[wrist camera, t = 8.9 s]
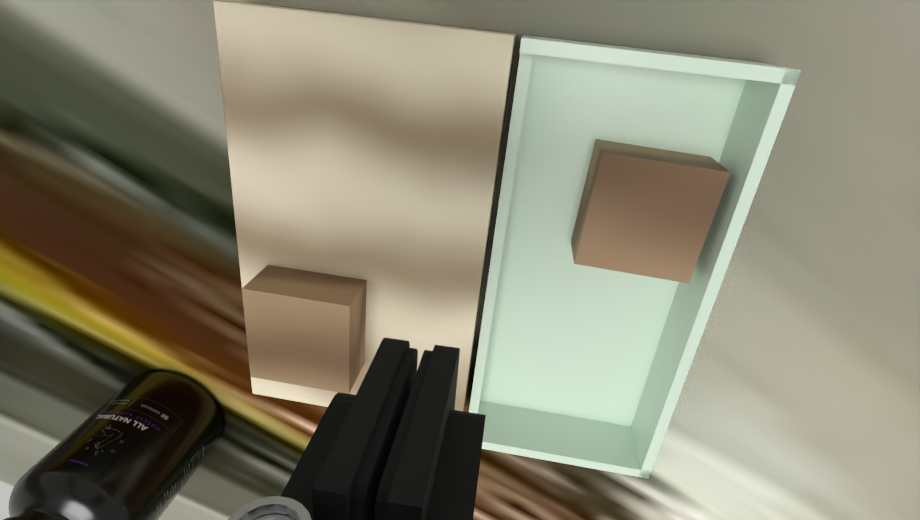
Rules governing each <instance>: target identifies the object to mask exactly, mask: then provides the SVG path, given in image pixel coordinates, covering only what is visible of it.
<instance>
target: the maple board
mask: <svg viewBox="0 0 920 520" xmlns="http://www.w3.org/2000/svg"><path fill="white" fill-rule="evenodd" d="M213 4H214V14H215V24H216V34H217V44H218V54H219V64H220V74H221V84H222V94H223V104H224V114H225V124H226V134H227V144H228V154H229V164H230V174H231V184H232V194H233V204H234V214H235V224H236V234H237V244H238V254H239V264H240V274H241V284H242V288H243V287H244V286H245V285H246V284H247V283H248V282H250V281H251V280H252V279H253V278H254V277H255V276H256V275H257V274H258V273H259V272H261V271H262V270H263V269H264V268H265V267H266V266H267V265H274V266H280V267H287V268H293V269H299V270H306V271H312V272H318V273H325V274H331V275H337V276H344V277H350V278H356V279H363V280H367V283H366V326H365V363H364V365H363V367H362V369H361V371H360V373H359V375H358V377H357V379H356V381H355V383H354V385H353V387H352V389H351V391H350V393H349V394H353V395H356V394H357V392H358V390H359V388H360V386H361V384H362V382H363V379H364V377H365V375H366V373H367V371H368V369H369V367H370V365H371V363H372V360H373V358H374V356H375V354H376V352H377V350H378V348H379V346H380V344H381V341H382V340H383V338H392V339H399V340H406V341H409V343H410V348H415V349H417V350H418V360H417V370H418V367H419V364H420V361H421V358H422V355H423V352H424V350H429V351H433V349H434V346H435V345H441V346H448V347H455V348H460V355H459V366H458V377H457V388H456V399H455V410H457V411H464V409H465V404H466V397H467V390H468V383H469V376H470V368H471V361H472V354H473V347H474V339H475V332H476V325H477V318H478V310H479V303H480V296H481V289H482V281H483V274H484V267H485V260H486V252H487V245H488V238H489V231H490V223H491V216H492V209H493V202H494V194H495V187H496V180H497V173H498V165H499V158H500V151H501V144H502V136H503V129H504V122H505V115H506V107H507V100H508V93H509V86H510V78H511V71H512V64H513V57H514V49H515V42H516V35H517V34H512V33H503V32H494V31H486V30H477V29H469V28H460V27H451V26H443V25H434V24H425V23H417V22H408V21H400V20H391V19H382V18H374V17H365V16H357V15H348V14H339V13H331V12H322V11H313V10H305V9H296V8H288V7H279V6H270V5H262V4H253V3H243V2H225V1H213ZM251 383H252V393H253V394H258V395H264V396H270V397H275V398H281V399H286V400H292V401H298V402H303V403H309V404H314V405H320V406H326V407H328V406H329V404H330V402H331V401H332V399H333V397H334V396H335V394H337V393H338V392H334V391H328V390H322V389H317V388H311V387H305V386H300V385H294V384H288V383H283V382H277V381H271V380H266V379H260V378H254V377H251Z"/></svg>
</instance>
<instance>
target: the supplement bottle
mask: <svg viewBox="0 0 920 520" xmlns="http://www.w3.org/2000/svg"><path fill="white" fill-rule="evenodd" d="M221 432H222V418H221V414H220V411H219V409H218V407H217V405H216V403H215V402H214V400H213V399H212V398H211V397H210V395H209V394H208V393H207V392H206V391H205V390H204V389H202V388H201V387H200V386H199V385H197V384H196V383H194V382H193V381H191V380H189V379H187V378H185V377H183V376H180V375H177V374H173V373H168V372H151V373H146V374H143V375H140V376H138V377H136V378H135V379H134V380H132V381H131V382H130V383H128V384H127V385H126V386H125V387H124V388H122V389H121V390H120V391H119V392H118V393H116V394H115V395H114V396H113V397H112V398H111V399H110V400H108V401H107V402H106V403H105V404H104V405H103V406H102V407H100V408H99V409H98V410H97V411H96V412H95V413H93V414H92V415H91V416H90V417H89V418H88V419H87V420H85V421H84V422H83V423H82V424H81V425H80V426H79V427H77V428H76V429H75V430H74V431H73V432H72V433H71V434H69V435H68V436H67V437H66V438H65V439H64V440H62V441H61V442H60V443H59V444H58V445H57V446H56V447H54V448H53V449H52V450H51V451H50V452H49V453H48V454H46V455H45V456H44V457H43V458H42V459H41V460H40V461H38V462H37V463H36V464H35V465H34V466H33V467H32V468H30V469H29V470H28V471H27V472H26V473H25V474H24V475H23V476H22V477H21V478H20V479H19V480H18V482H17V483H16V485H15V486H14V488H13V491H12V493H11V496H10V500H9V514H10V518H6V519H4V520H158V519H159V517H160V516H161V515H162V514H163V512H164V511H165V510H166V508H167V507H168V506H169V504H170V503H171V502H172V501H173V499H174V498H175V497H176V495H177V494H178V493H179V492H180V490H181V489H182V488H183V486H184V485H185V484H186V483H187V481H188V480H189V479H190V477H191V476H192V475H193V474H194V472H195V471H196V470H197V468H198V467H199V466H200V465H201V463H202V462H203V461H204V459H205V458H206V457H207V455H208V454H209V453H210V451H211V450H212V449H213V447H214V446H215V445H216V443H217V442H218V440H219V438H220V435H221Z"/></svg>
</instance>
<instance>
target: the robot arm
mask: <svg viewBox="0 0 920 520" xmlns="http://www.w3.org/2000/svg"><path fill="white" fill-rule="evenodd" d="M459 355H460V348H455V347H448V346H441V345H435V346H434V349H433V351H429V350H424V352H423V355H422V358H421V361H420V364H419V367H418V370H417V360H418V350H417V349H415V348H410V343H409V341H406V340H399V339H392V338H383V340H382V341H381V344H380V346H379V348H378V350H377V352H376V354H375V356H374V358H373V360H372V363H371V365H370V367H369V369H368V371H367V373H366V375H365V377H364V379H363V382H362V384H361V386H360V388H359V390H358V392H357V394H356V395H353V394H346V393H340V392H338V393H337V394H335V396H334V397H333V399H332V401H331V402H330V404H329V406H328V408H327V410H326V412H325V414H324V416H323V417H322V419H321V421H320V423H319V425H318V427H317V429H316V431H315V433H314V434H313V436H312V438H311V440H310V442H309V444H308V446H307V448H306V450H305V451H304V453H303V455H302V457H301V459H300V461H299V463H298V465H297V466H296V468H295V470H294V472H293V474H292V476H291V478H290V480H289V482H288V483H287V485H286V487H285V489H284V491H283V493H282V495H281V496H274V497H264V498H261V499H259V500H256V501H253V502H250V503H248V504H247V505H245V506H244V507H242V508H240V509H239V510H237V511H236V512H235V513H234V514H233V515H232V516H231V517H230V518H229V519H228V520H473V514H474V506H475V498H476V490H477V482H478V474H479V466H480V458H481V450H482V442H483V434H484V426H485V417H486V415H483V414H477V413H470V412H464V411H457V410H455V399H456V388H457V377H458V366H459Z"/></svg>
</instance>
